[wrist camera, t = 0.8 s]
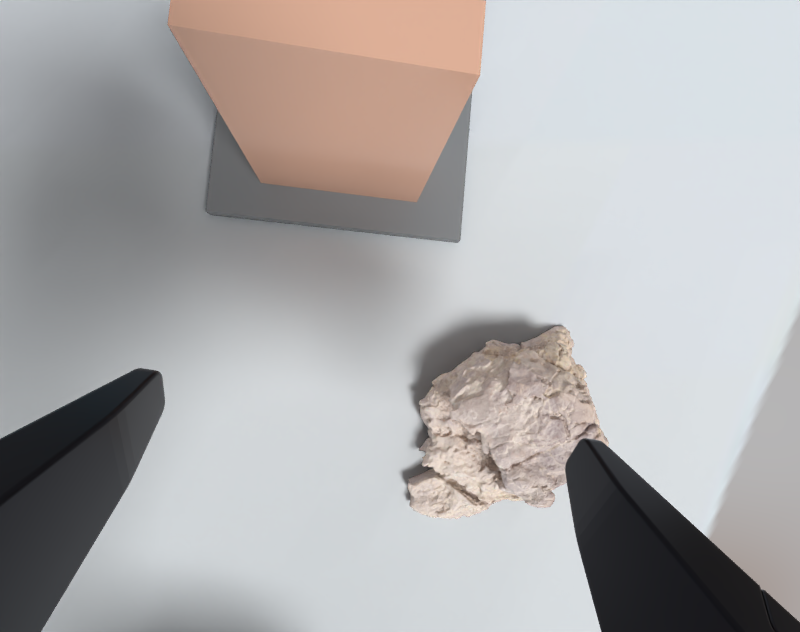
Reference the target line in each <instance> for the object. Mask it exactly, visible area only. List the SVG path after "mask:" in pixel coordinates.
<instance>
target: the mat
mask: <svg viewBox="0 0 800 632" xmlns="http://www.w3.org/2000/svg"><path fill="white" fill-rule="evenodd" d="M471 99H472V92H471V94H470V96H469V98H468V100H467V102H466V104H465V106H464V108H463V110H462V112H461V114H460V116H459V118H458V120H457V122H456V124H455V126H454V128H453V130H452V132H451V134H450V136H449V138H448V140H447V142H446V144H445V146H444V148H443V150H442V152H441V154H440V156H439V158H438V160H437V162H436V164H435V166H434V168H433V171H432V173H431V175H430V177H429V179H428V181H427V183H426V185H425V187H424V189H423V191H422V193H421V195H420V197H419V199H418V201H417V202H410V201H402V200H394V199H386V198H378V197H370V196H362V195H354V194H345V193H337V192H329V191H321V190H313V189H305V188H297V187H289V186H281V185H273V184H265V183H261V182H260V180H259V179H258V177H257V175H256V174H255V172H254V170H253V169H252V167H251V165H250V163H249V162H248V160H247V158H246V157H245V155H244V153H243V152H242V150H241V148H240V147H239V145H238V143H237V141H236V140H235V138H234V136H233V135H232V133H231V131H230V130H229V128H228V126H227V125H226V123H225V121H224V119H223V118H222V116H221V114H220V113H219V111H218V109H217V116H216V125H215V134H214V143H213V152H212V160H211V169H210V178H209V187H208V195H207V204H206V212H207V213H209V214H211V215H219V216H228V217H237V218H245V219H254V220H263V221H272V222H280V223H289V224H298V225H307V226H315V227H324V228H333V229H342V230H350V231H359V232H368V233H376V234H385V235H394V236H403V237H411V238H420V239H429V240H438V241H446V242H455V243H458V242H459V241H460V236H461V223H462V211H463V198H464V186H465V173H466V161H467V148H468V136H469V124H470V111H471Z"/></svg>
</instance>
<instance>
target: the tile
mask: <svg viewBox="0 0 800 632" xmlns="http://www.w3.org/2000/svg"><path fill="white" fill-rule="evenodd" d="M485 5H486V0H171V1H170V9H169V17H168V26H169V28H170V30H171V31H172V33H173V35H174V36H175V38H176V40H177V42H178V43H179V45H180V47H181V48H182V50H183V52H184V53H185V55H186V57H187V59H188V60H189V62H190V64H191V65H192V67H193V69H194V70H195V72H196V74H197V75H198V77H199V79H200V81H201V82H202V84H203V86H204V87H205V89H206V91H207V92H208V94H209V96H210V97H211V99H212V101H213V103H214V104H215V106H216V108H217V109H218V111H219V113H220V114H221V116H222V118H223V119H224V121H225V123H226V125H227V126H228V128H229V130H230V131H231V133H232V135H233V136H234V138H235V140H236V141H237V143H238V145H239V147H240V148H241V150H242V152H243V153H244V155H245V157H246V158H247V160H248V162H249V163H250V165H251V167H252V169H253V170H254V172H255V174H256V175H257V177H258V179H259V180H260V182H261V183H265V184H273V185H281V186H289V187H297V188H305V189H313V190H321V191H329V192H337V193H345V194H354V195H362V196H370V197H378V198H386V199H394V200H402V201H410V202H417V201H418V199H419V197H420V195H421V193H422V191H423V189H424V187H425V185H426V183H427V181H428V179H429V177H430V175H431V173H432V171H433V168H434V166H435V164H436V162H437V160H438V158H439V156H440V154H441V152H442V150H443V148H444V146H445V144H446V142H447V140H448V138H449V136H450V134H451V132H452V130H453V128H454V126H455V124H456V122H457V120H458V118H459V116H460V114H461V112H462V110H463V108H464V106H465V104H466V102H467V100H468V98H469V96H470V94H471V92H472V90H473V88H474V86H475V84H476V82H477V80H478V78H479V76H480V68H481V56H482V43H483V31H484V18H485Z"/></svg>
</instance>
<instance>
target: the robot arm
mask: <svg viewBox="0 0 800 632" xmlns="http://www.w3.org/2000/svg"><path fill="white" fill-rule="evenodd" d="M164 405H165V397H164V388H163V379H162V375H161V373H160V372H159V371H156V370H149V369H143V368H138V369H135V370H133V371H131V372H129V373H127V374H125V375H123V376H121V377H119V378H117V379H115V380H113V381H112V382H110V383H108V384H106V385H104V386H102V387H100V388H98V389H96V390H94V391H92V392H90V393H88V394H86V395H84V396H82V397H80V398H79V399H77V400H75V401H73V402H71V403H69V404H67V405H65V406H63V407H61V408H59V409H57V410H55V411H53V412H51V413H49V414H48V415H46V416H44V417H42V418H40V419H38V420H36V421H34V422H32V423H30V424H28V425H26V426H24V427H22V428H20V429H18V430H16V431H15V432H13V433H11V434H9V435H7V436H5V437H3V438H1V439H0V632H41V631H42V629H43V627H44V626H45V624H46V622H47V621H48V619H49V617H50V616H51V614H52V612H53V611H54V609H55V607H56V606H57V604H58V602H59V601H60V599H61V597H62V596H63V594H64V592H65V591H66V589H67V587H68V586H69V584H70V582H71V581H72V579H73V577H74V576H75V574H76V572H77V571H78V569H79V567H80V566H81V564H82V562H83V561H84V559H85V557H86V556H87V554H88V552H89V551H90V549H91V547H92V546H93V544H94V542H95V541H96V539H97V537H98V536H99V534H100V532H101V531H102V529H103V527H104V526H105V524H106V522H107V521H108V519H109V517H110V516H111V514H112V512H113V511H114V509H115V507H116V506H117V504H118V502H119V501H120V499H121V497H122V496H123V494H124V492H125V490H126V489H127V487H128V485H129V483H130V481H131V479H132V477H133V475H134V473H135V471H136V469H137V467H138V465H139V463H140V460H141V458H142V456H143V454H144V452H145V450H146V447H147V445H148V443H149V441H150V439H151V436H152V434H153V432H154V430H155V428H156V426H157V423H158V421H159V419H160V417H161V415H162V412H163V409H164ZM565 474H566V480H567V486H568V492H569V498H570V504H571V510H572V516H573V522H574V528H575V533H576V538H577V542H578V547H579V551H580V554H581V558H582V562H583V565H584V569H585V573H586V577H587V580H588V584H589V588H590V591H591V595H592V599H593V602H594V606H595V610H596V613H597V617H598V621H599V624H600V628H601V632H800V622H799V621H797V619H795V618H794V617H793V616H792V615H791V614H790V613H789V612H787V611H786V610H785V609H784V608H783V607H782V606H781V605H780V604H779V603H778V602H777V601H776V600H775V599H773V598H772V597H771V596H770V595H769V594H768V593H767V592H766V591H765V590H761V588H760V586H759V585H758V584H757V583H756V582H755V581H754V580H753V579H751V577H749V576H748V575H747V574H746V573H745V572H744V571H743V570H742V569H741V568H740V567H738V566H737V565H736V564H735V563H734V562H733V561H732V560H731V559H730V558H729V557H728V556H726V555H725V554H724V553H723V552H722V551H721V550H720V549H719V548H718V547H717V546H716V545H715V544H714V543H712V542H711V541H710V540H709V539H708V538H707V537H706V536H705V535H704V534H703V533H702V532H700V531H699V530H698V529H697V528H696V527H695V526H694V525H693V524H692V523H691V522H690V521H688V520H687V519H686V518H685V517H684V516H683V515H682V514H681V513H680V512H679V511H678V510H676V509H675V508H674V507H673V506H672V505H671V504H670V503H669V502H668V501H667V500H666V499H665V498H663V497H662V496H661V495H660V494H659V493H658V492H657V491H656V490H655V489H654V488H653V487H651V486H650V485H649V484H648V483H647V482H646V481H645V480H644V479H643V478H642V477H641V476H639V475H638V474H637V473H636V472H635V471H634V470H633V469H632V468H631V467H630V466H629V465H627V464H626V463H625V462H624V461H623V460H622V459H621V458H620V457H619V456H618V455H617V454H616V453H614V452H613V451H612V450H611V449H610V448H609V447H608V446H607V445H606V444H605V443H603V442H602V441H600V440H595V439H589V438H583V439H581V440H580V441H579V442H578V444H577V445H576V447H575V448H574V450H573V452H572V453H571V455H570V456H569V458H568V459H567V462H566V465H565Z"/></svg>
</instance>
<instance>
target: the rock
mask: <svg viewBox="0 0 800 632" xmlns="http://www.w3.org/2000/svg"><path fill="white" fill-rule="evenodd" d="M573 346H574V342H573V340H572V339H571V337H570V332H569V331H568V330H567V329H566V327H563V326H554V327H553V328H551V329H550V330H548V331H546V332H544V333H542V334H541V335H539V336H538V337H536V338H533V339H531V340H529V341H526V342H521V344H520V345H518V344H514V343H511V344H507V343H503V342H500V341H498V340H491V341H488V342H486V346H485V347H484V348H483V349H482V350H480V351H479V352H474V353H472V354H471V356H470V357H469V358H468V359H466V360H465V361H463V362H462V363H461V364H459V365H457V367H456V368H454V369H453V370H452V371H451V372H447V373H444V374H441V375H440V376H438V377H437V378H436V379H435V380H433V381H432V384H433V386H432V387H431V389H430V391H429V392H428V393H427V395H426V397H425V398H424V399H421V400H420V401H419V405H421V406H420V413H421V418H422V420H423V422H424V423H425V425H426V426H427V427H428V431H427V432H428V435H429V438H427V440H426V441H425V442H424V443H423V445H422V446H421V447H420V448H419V451H425V453H426V455H425V456H424V457H422V458H423V462H422V466H423V467H424V466H428V467H433V469H430V470H428V471H426V472H424V473H423V474H420V475H417V476H413V477H412V478H409V483H408V490H409V492H410V495H411V499H410V507H412V508H413V510H414V511H417V512H419V513H421V514H423V515H424V514H426V515H427V516H429V517H435V518H437V517H439V518H449V519H451V518H455V519H458V518H461V516H466V517H467V516H468V517H470V516H471V515H475V514H478V513H480V512H482V511H484V510H486V509H489V506H490V505H492V504H494V503H496V502H499V501H501V500H505V499H509V500H511V501H525V503H527V504H529V505H531V506H535V507H537V508H541V507H542V508H547V507H550V506H551V505H552V504H553V502H554V500H555V495H554V494H553V493H552V492H551V491H552V490H554V489H555V488H556V487H559V486H561V485H564V484H565V483H567V480H566V474H565V465H566V462H567V459H568V458H569V456H570V455H571V453H572V452H573V450H574V448H575V447H576V445H577V444H578V442H579V441H580V440H581V439H583V438H589V439H595V440H600V441H602V442H603V443H605V444H606V445H607V446H608V444H609V442H608V440H607V438H606V437H605V436H604V434H603V432H602V431H601V429H600V428H599V427H600V426H599V424H600V423H599V420H598V417H597V414H596V410H595V406H594V404H593V402H592V398H591V396H590V394H589V389H588V387H587V383H586V382H585V381H584V380H583V379H584V378H585V377H587V376H586V372H585V371H584V369H583V367H582V366H581V365H579V364H578V365H576V364H575V362H574V359H573V358H572V357H571V354H572V347H573Z"/></svg>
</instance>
